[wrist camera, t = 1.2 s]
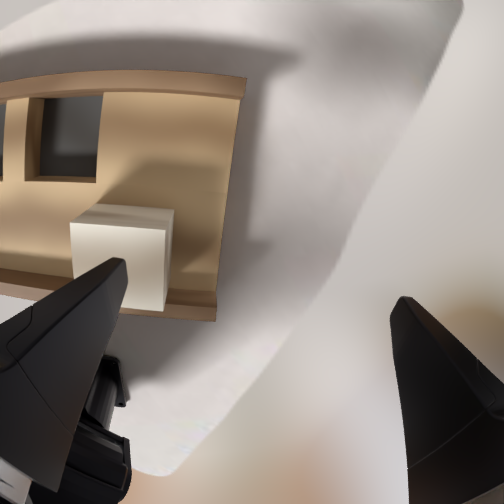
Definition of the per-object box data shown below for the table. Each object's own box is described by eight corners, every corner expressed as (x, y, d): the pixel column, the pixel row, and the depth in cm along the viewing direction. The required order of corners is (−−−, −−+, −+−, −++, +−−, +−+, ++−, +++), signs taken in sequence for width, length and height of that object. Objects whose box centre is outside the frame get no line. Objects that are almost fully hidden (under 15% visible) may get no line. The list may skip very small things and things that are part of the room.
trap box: (213, 287, 23) (215, 321, 19) (-43, 257, 19) (-71, 277, 15) (238, 89, 18) (246, 78, 14) (-49, 104, 14) (-83, 106, 10)
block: (170, 277, 20) (163, 311, 16) (97, 270, 19) (76, 301, 15) (174, 209, 18) (165, 229, 14) (95, 203, 17) (69, 222, 14)
